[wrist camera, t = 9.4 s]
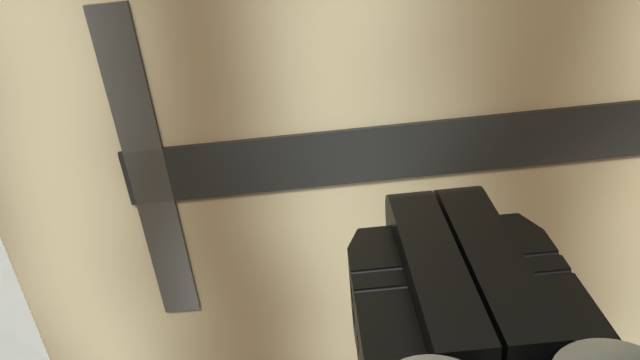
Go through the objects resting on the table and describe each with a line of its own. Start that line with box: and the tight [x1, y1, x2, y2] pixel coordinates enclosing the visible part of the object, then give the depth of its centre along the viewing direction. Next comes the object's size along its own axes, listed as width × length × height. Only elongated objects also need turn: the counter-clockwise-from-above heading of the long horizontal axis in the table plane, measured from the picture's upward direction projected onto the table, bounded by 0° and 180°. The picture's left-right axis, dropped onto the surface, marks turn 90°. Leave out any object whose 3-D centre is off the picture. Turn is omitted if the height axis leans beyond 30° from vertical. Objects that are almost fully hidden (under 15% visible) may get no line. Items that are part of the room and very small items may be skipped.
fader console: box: [0, 0, 640, 360], centre depth 14 cm, size 22×16×3 cm
